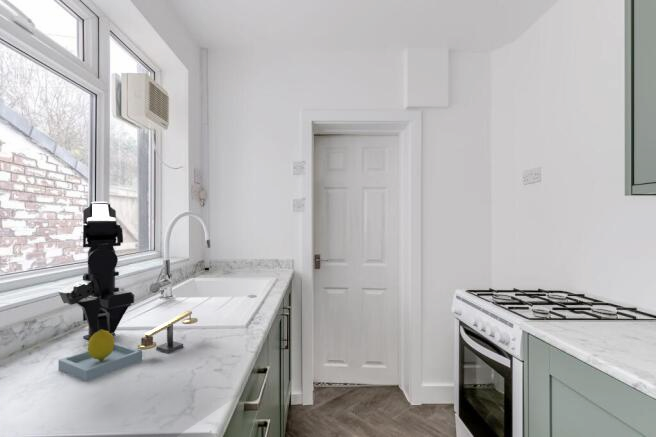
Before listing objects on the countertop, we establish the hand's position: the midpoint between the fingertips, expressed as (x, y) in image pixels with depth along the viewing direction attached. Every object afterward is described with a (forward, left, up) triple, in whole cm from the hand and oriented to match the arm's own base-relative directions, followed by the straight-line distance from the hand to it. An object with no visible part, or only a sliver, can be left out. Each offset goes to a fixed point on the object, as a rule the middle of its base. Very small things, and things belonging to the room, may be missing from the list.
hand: (101, 330), depth 82 cm
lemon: (0, 0, -8) cm, 8 cm away
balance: (+6, +15, -9) cm, 18 cm away
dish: (0, 0, -9) cm, 9 cm away
